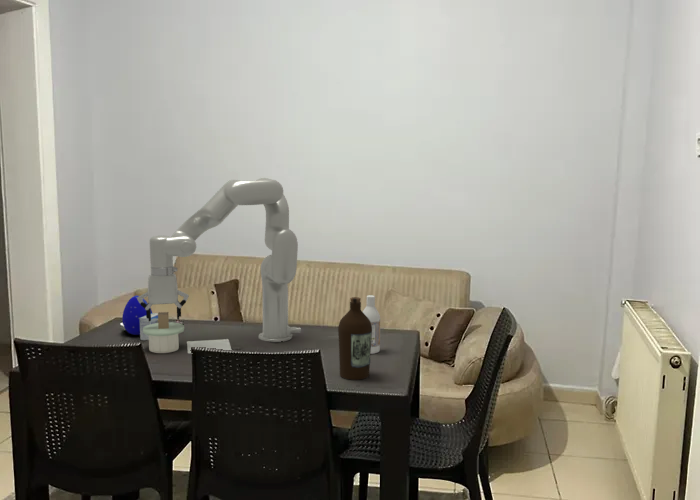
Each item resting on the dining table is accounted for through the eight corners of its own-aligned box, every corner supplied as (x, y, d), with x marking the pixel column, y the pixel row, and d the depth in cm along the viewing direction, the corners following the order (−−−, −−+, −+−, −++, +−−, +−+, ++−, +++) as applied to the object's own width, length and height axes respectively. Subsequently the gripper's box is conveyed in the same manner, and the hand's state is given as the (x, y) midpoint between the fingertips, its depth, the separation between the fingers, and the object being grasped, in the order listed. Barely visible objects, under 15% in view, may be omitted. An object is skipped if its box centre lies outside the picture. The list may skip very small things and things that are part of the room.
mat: (228, 340, 260) (228, 339, 260) (231, 352, 245) (231, 350, 245) (186, 342, 256) (186, 341, 256) (188, 354, 242) (188, 353, 242)
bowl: (178, 345, 253) (177, 326, 252) (178, 353, 243) (178, 333, 242) (149, 346, 250) (149, 327, 249) (149, 355, 241) (148, 335, 240)
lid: (183, 324, 254) (183, 307, 253) (184, 334, 241) (184, 317, 240) (143, 326, 251) (142, 309, 250) (142, 337, 237) (141, 319, 237)
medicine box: (150, 341, 258) (149, 318, 256) (140, 340, 259) (139, 317, 258) (162, 335, 265) (161, 313, 264) (152, 334, 266) (151, 312, 265)
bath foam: (382, 353, 246) (383, 297, 243) (363, 354, 244) (364, 298, 241) (376, 347, 252) (377, 293, 249) (357, 349, 251) (358, 294, 248)
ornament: (156, 331, 271) (155, 293, 269) (147, 338, 262) (146, 298, 259) (128, 330, 272) (127, 292, 269) (118, 337, 263) (117, 297, 260)
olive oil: (331, 372, 224) (332, 296, 221) (360, 368, 230) (361, 293, 226) (348, 382, 215) (349, 303, 211) (377, 377, 220) (378, 299, 217)
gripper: (187, 268, 248) (189, 315, 251) (136, 270, 244) (138, 318, 247) (188, 272, 241) (189, 320, 244) (135, 274, 237) (137, 323, 240)
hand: (164, 319), depth 245 cm, fingers open, 9 cm apart
